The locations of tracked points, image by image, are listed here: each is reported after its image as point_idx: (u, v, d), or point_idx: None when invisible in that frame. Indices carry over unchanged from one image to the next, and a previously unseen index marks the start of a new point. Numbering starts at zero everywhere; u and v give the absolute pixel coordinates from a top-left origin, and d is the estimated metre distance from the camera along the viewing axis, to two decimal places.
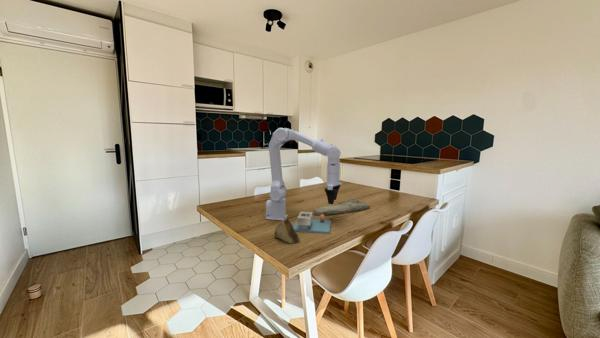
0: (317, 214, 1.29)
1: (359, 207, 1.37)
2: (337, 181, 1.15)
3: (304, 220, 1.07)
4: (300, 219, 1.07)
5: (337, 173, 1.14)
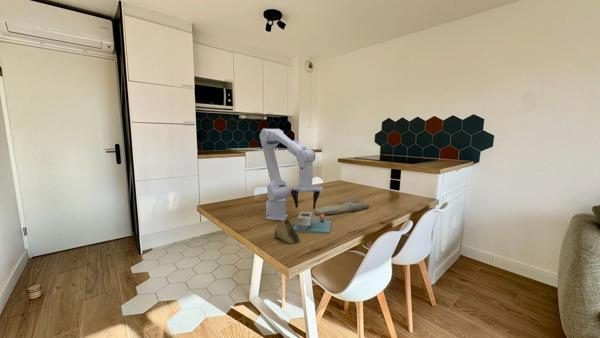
0: (318, 214, 1.28)
1: (359, 207, 1.37)
2: (301, 186, 1.08)
3: (304, 220, 1.07)
4: (300, 219, 1.07)
5: (305, 177, 1.06)
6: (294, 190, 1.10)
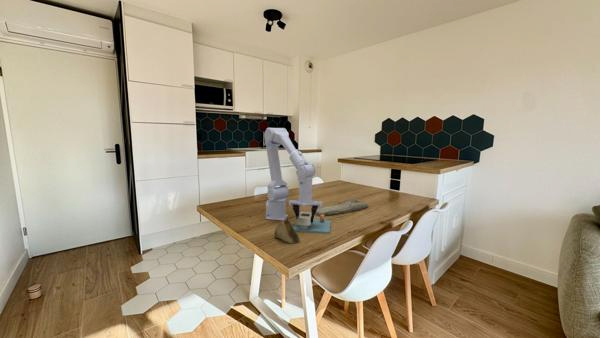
0: (319, 215, 1.28)
1: (358, 206, 1.38)
2: (301, 200, 1.08)
3: (304, 220, 1.07)
4: (300, 219, 1.07)
5: (305, 192, 1.07)
6: (294, 204, 1.11)
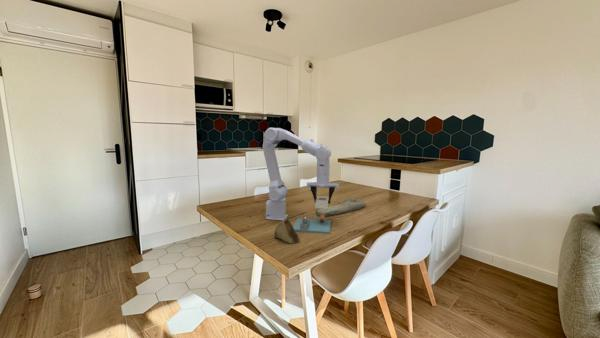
0: None
1: (358, 206, 1.39)
2: (318, 182, 1.13)
3: (322, 203, 1.12)
4: (318, 202, 1.12)
5: (326, 174, 1.12)
6: (312, 186, 1.16)
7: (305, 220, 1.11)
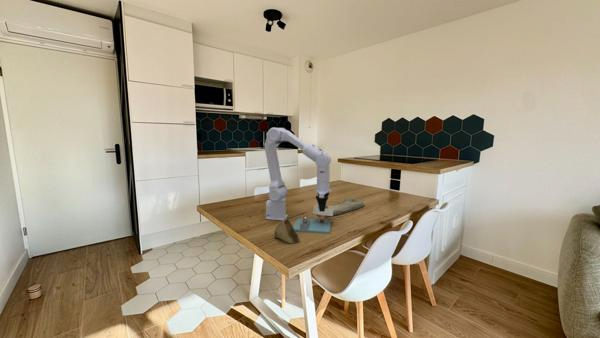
0: None
1: (357, 206, 1.39)
2: (327, 188, 1.14)
3: None
4: None
5: (326, 180, 1.13)
6: None
7: (305, 220, 1.11)
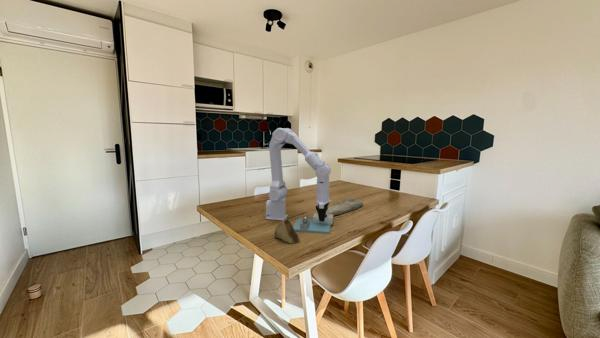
0: None
1: (357, 205, 1.40)
2: (327, 199, 1.14)
3: None
4: (332, 218, 1.15)
5: (326, 191, 1.13)
6: None
7: (305, 220, 1.11)
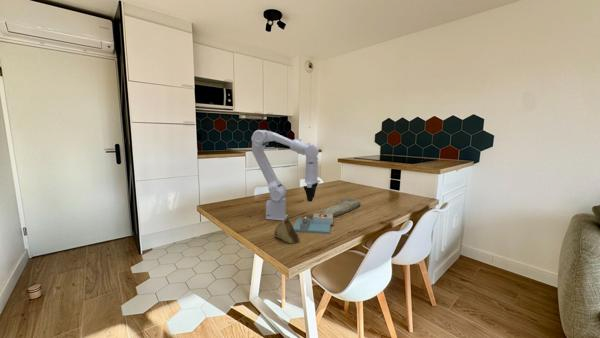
0: None
1: (356, 205, 1.41)
2: (315, 179, 1.18)
3: None
4: (332, 218, 1.15)
5: (315, 171, 1.17)
6: None
7: (305, 220, 1.11)
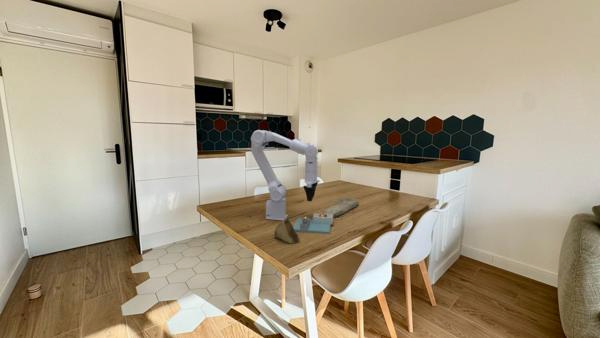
0: None
1: (355, 204, 1.42)
2: (315, 179, 1.18)
3: None
4: (332, 218, 1.15)
5: (315, 171, 1.17)
6: (310, 185, 1.16)
7: (305, 220, 1.11)
